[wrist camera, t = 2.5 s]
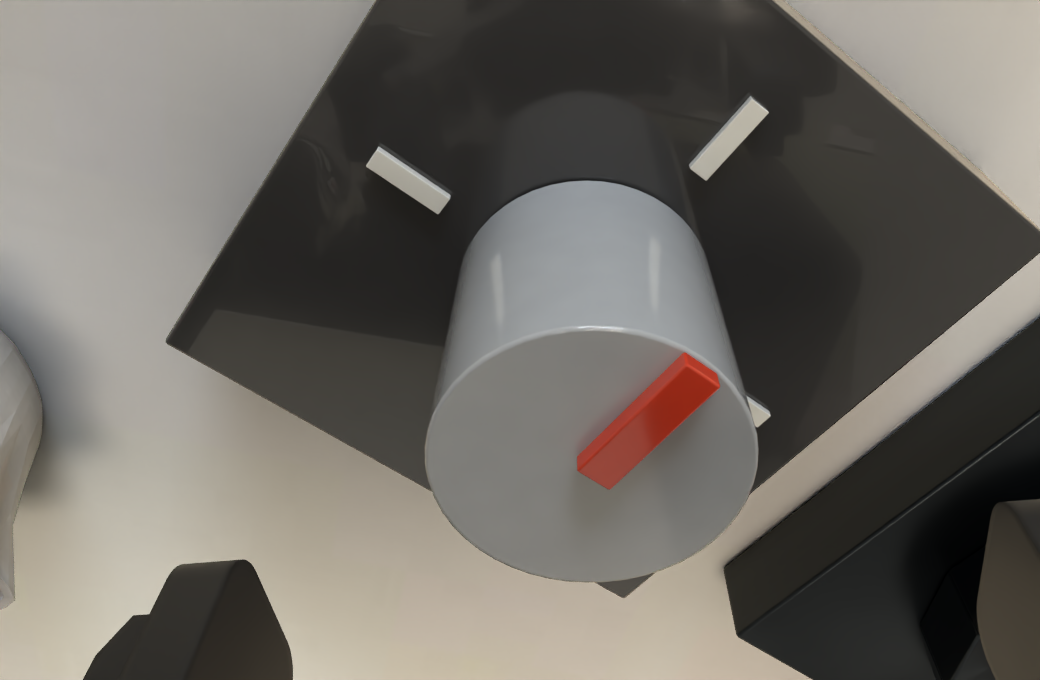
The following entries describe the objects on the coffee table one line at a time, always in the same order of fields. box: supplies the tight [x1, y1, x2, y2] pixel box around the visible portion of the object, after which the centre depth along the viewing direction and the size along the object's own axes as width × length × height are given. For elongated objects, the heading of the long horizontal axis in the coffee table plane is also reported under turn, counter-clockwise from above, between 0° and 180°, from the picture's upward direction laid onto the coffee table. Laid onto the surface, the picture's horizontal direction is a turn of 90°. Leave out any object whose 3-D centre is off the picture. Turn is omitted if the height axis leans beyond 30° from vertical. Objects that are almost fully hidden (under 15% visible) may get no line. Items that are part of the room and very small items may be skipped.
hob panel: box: [166, 0, 1040, 598], centre depth 17 cm, size 11×11×3 cm
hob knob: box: [425, 181, 759, 582], centre depth 14 cm, size 4×4×5 cm
